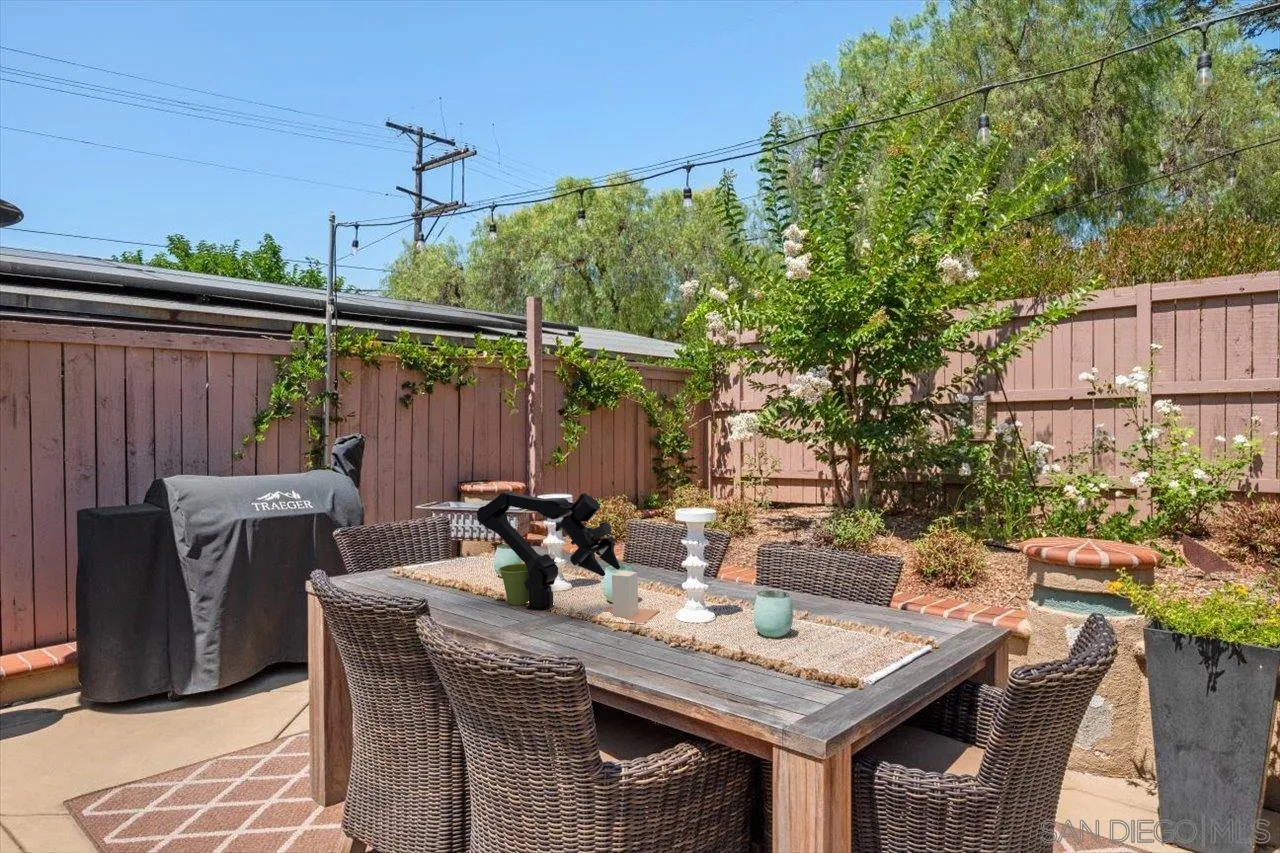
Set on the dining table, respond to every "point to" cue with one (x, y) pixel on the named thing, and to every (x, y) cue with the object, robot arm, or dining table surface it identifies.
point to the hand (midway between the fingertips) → (611, 571)
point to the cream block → (625, 594)
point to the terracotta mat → (638, 618)
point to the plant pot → (515, 583)
